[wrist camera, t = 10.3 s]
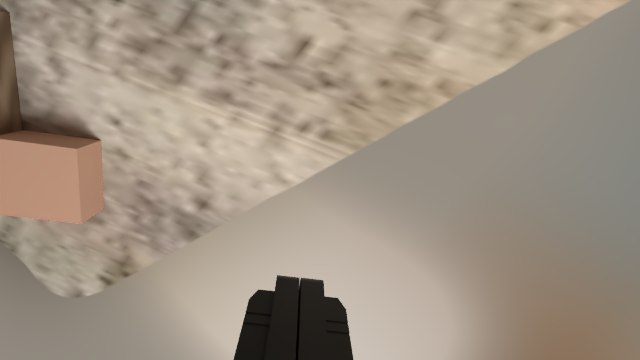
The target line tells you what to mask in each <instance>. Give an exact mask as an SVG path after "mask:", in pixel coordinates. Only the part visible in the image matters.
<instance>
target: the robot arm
mask: <svg viewBox="0 0 640 360" xmlns="http://www.w3.org/2000/svg"><path fill="white" fill-rule="evenodd" d="M347 323H348V321H347V314H346V309H345V308H344V306H343V305H342V303H341V302H340V301H339V299H338V298H331V297H324V284H323V280H315V279H306V278H301V280H300V286H299V278H296V277H287V276H278V275H277V281H276V287H275V291H266V290H258V291H257V292H256V293H255V294H254V295H253V296H252V297H251V298H250V299H249V302H248V306H247V310H246V314H245V318H244V322H243V326H242V329H241V333H240V337H239V342H238V345H237V349H236V353H235V357H234V360H353V355H352V349H351V342H350V336H349V328H348V324H347Z"/></svg>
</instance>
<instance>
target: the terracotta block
mask: <svg viewBox="0 0 640 360" xmlns="http://www.w3.org/2000/svg"><path fill="white" fill-rule="evenodd" d="M102 209H104V201H103V174H102V147H101V140H94V139H87V138H79V137H72V136H64V135H57V134H49V133H42V132H34V131H27V130H21V131H17V132H12V133H8V134H3V135H0V215H7V216H16V217H25V218H34V219H42V220H51V221H60V222H69V223H77V224H82V223H83V222H85V221H86V220H88V219H89V218H91V217H92V216H93V215H95V214H96V213H98V212H99V211H101V210H102Z"/></svg>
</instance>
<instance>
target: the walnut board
mask: <svg viewBox="0 0 640 360" xmlns="http://www.w3.org/2000/svg"><path fill="white" fill-rule="evenodd" d="M21 130H22V123H21V114H20V105H19V96H18V87H17V78H16V69H15V60H14V51H13V42H12V33H11V24H10V15H9V13H8V12H3V11H0V135H3V134H8V133H12V132H17V131H21Z"/></svg>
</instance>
